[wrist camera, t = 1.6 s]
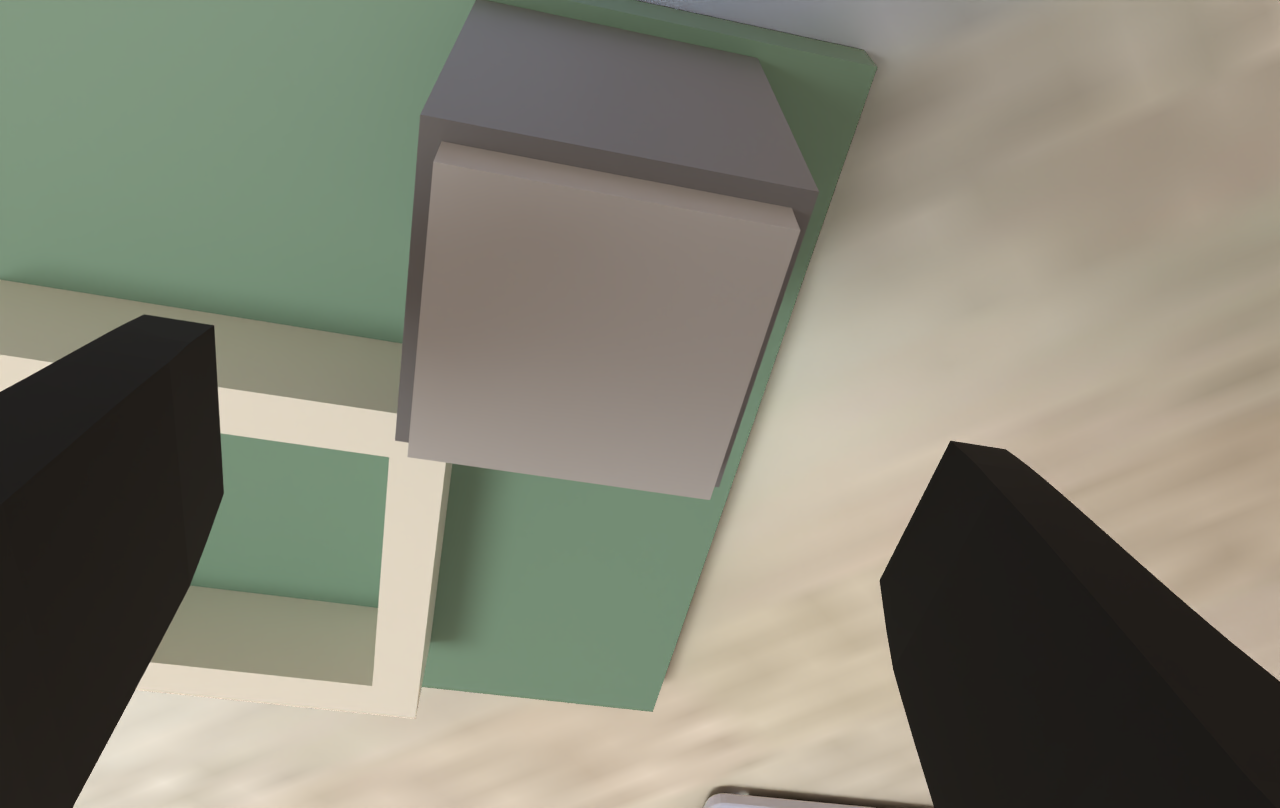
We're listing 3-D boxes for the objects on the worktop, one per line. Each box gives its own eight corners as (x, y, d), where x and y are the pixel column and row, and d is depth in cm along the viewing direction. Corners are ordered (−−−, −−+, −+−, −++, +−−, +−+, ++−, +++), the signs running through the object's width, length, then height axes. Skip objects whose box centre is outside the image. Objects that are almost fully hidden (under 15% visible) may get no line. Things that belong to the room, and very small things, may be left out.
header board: (863, 50, 16) (877, 67, 15) (651, 680, 26) (652, 711, 25) (-198, -182, 14) (-249, -177, 13) (4, 607, 23) (-18, 639, 23)
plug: (757, 57, 15) (829, 212, 10) (691, 299, 18) (723, 515, 13) (476, -2, 14) (410, 134, 10) (449, 257, 17) (386, 469, 12)
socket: (466, 353, 18) (450, 421, 16) (430, 642, 23) (415, 719, 21) (-7, 278, 17) (-80, 342, 15) (59, 599, 22) (10, 677, 20)
